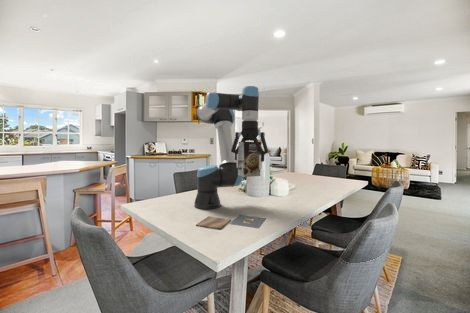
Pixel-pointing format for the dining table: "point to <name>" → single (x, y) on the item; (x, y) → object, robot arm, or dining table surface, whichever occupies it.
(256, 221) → the mat
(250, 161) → the coffee box
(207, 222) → the walnut board
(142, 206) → the dining table surface
